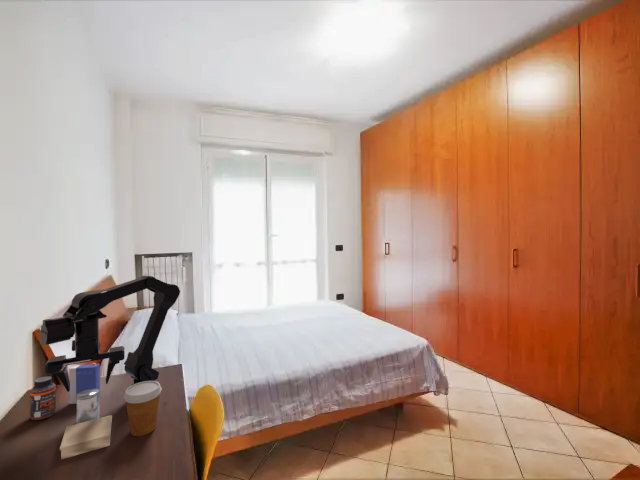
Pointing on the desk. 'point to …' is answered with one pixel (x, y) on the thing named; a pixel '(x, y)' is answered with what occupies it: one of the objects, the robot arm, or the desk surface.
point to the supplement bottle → (42, 399)
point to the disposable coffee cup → (142, 406)
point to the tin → (87, 405)
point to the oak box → (86, 437)
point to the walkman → (83, 379)
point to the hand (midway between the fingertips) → (88, 387)
